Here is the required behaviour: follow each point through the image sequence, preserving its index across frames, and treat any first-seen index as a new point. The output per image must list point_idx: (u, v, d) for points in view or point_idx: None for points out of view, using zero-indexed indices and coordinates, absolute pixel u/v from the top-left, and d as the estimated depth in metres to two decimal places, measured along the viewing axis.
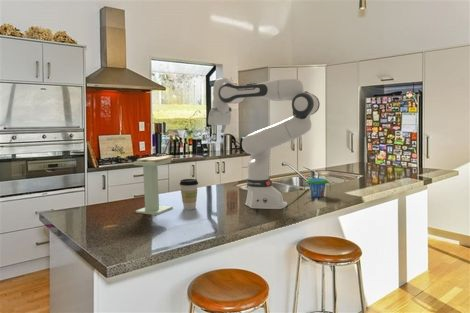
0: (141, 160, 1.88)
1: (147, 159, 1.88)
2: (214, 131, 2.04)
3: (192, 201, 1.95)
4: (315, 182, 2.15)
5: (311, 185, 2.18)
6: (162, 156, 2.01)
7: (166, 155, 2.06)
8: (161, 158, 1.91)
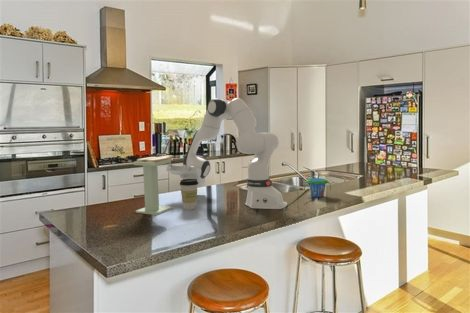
0: (141, 160, 1.88)
1: (147, 159, 1.88)
2: None
3: (192, 201, 1.95)
4: (315, 182, 2.15)
5: (311, 185, 2.18)
6: (162, 156, 2.01)
7: (166, 155, 2.06)
8: (161, 158, 1.91)
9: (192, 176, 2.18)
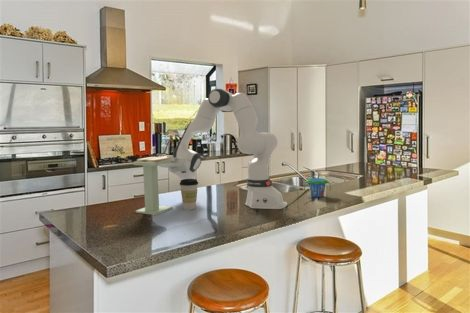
0: (141, 160, 1.88)
1: (147, 159, 1.88)
2: None
3: (192, 201, 1.95)
4: (315, 182, 2.15)
5: (311, 185, 2.18)
6: (162, 156, 2.01)
7: (166, 155, 2.06)
8: (161, 158, 1.91)
9: (181, 168, 2.06)
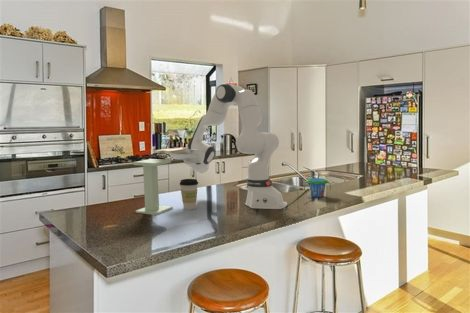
0: (158, 151, 1.95)
1: (164, 150, 1.95)
2: None
3: (192, 201, 1.95)
4: (315, 182, 2.15)
5: (311, 185, 2.18)
6: (178, 148, 2.08)
7: (181, 147, 2.12)
8: (177, 149, 1.98)
9: (195, 160, 2.13)
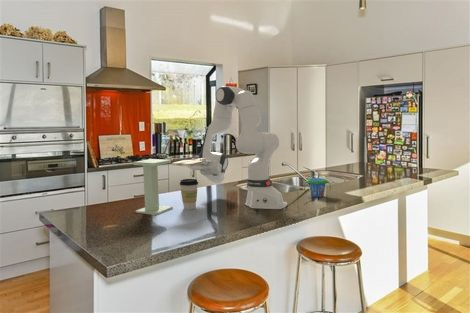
0: (176, 164, 1.92)
1: (182, 163, 1.91)
2: None
3: (192, 201, 1.95)
4: (315, 182, 2.15)
5: (311, 185, 2.18)
6: (195, 159, 2.04)
7: (198, 158, 2.09)
8: (196, 162, 1.95)
9: (212, 171, 2.10)
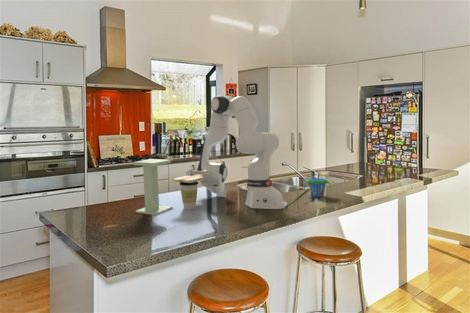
0: (177, 180, 1.93)
1: (183, 179, 1.92)
2: None
3: (192, 201, 1.95)
4: (315, 182, 2.15)
5: (311, 185, 2.18)
6: (196, 175, 2.05)
7: None
8: (196, 178, 1.95)
9: (213, 182, 2.10)
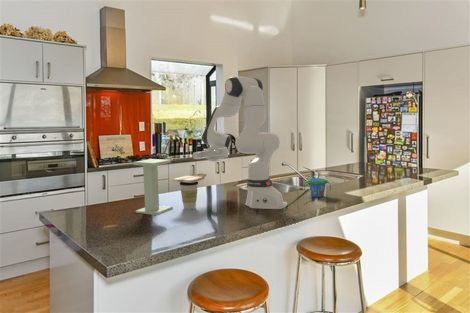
0: (177, 180, 1.93)
1: (183, 179, 1.92)
2: None
3: (192, 201, 1.95)
4: (315, 182, 2.15)
5: (311, 185, 2.18)
6: (196, 175, 2.05)
7: None
8: (196, 178, 1.95)
9: (221, 156, 2.19)
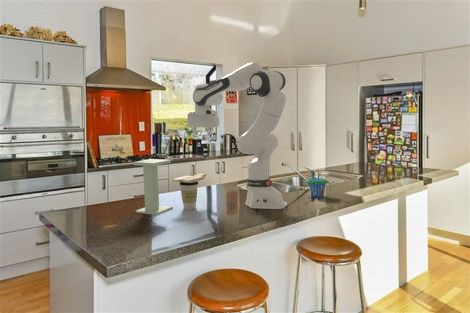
0: (177, 180, 1.93)
1: (183, 179, 1.92)
2: None
3: (192, 201, 1.95)
4: (315, 182, 2.15)
5: (311, 185, 2.18)
6: (196, 175, 2.05)
7: None
8: (196, 178, 1.95)
9: None
